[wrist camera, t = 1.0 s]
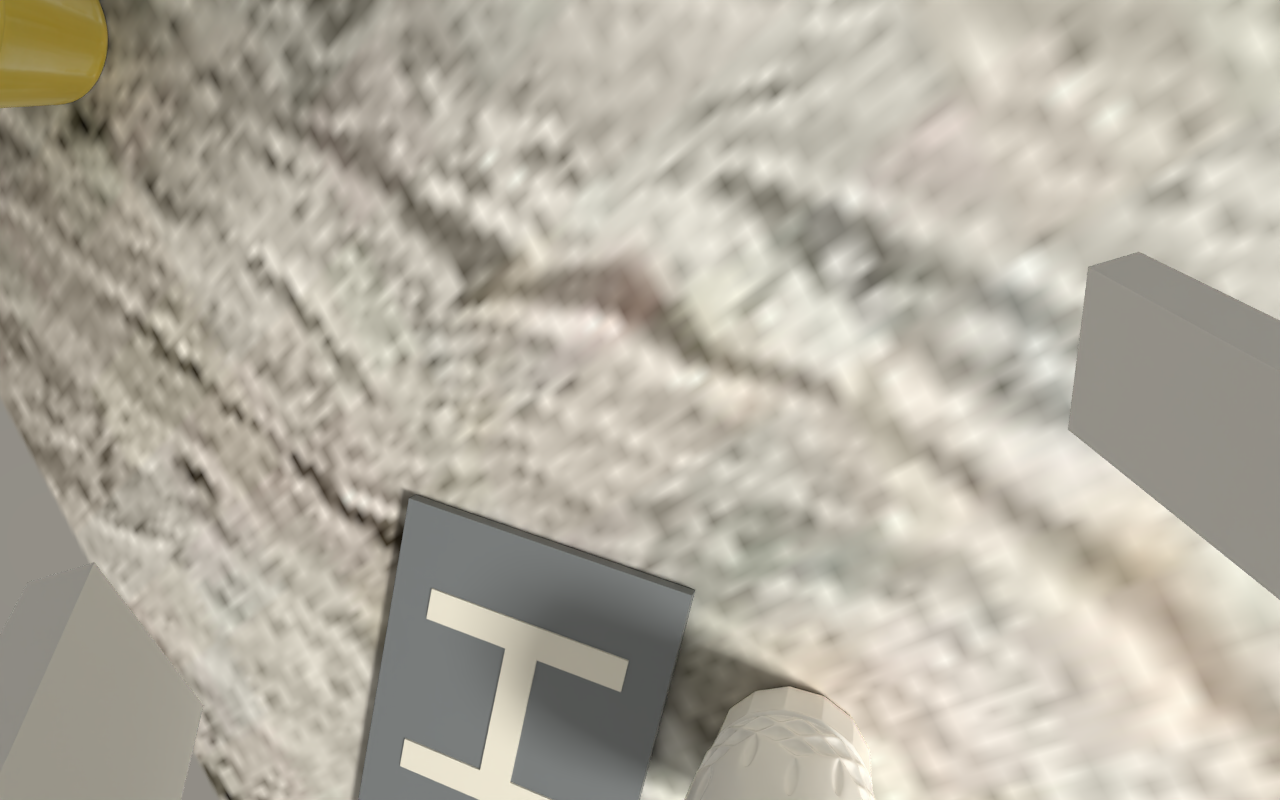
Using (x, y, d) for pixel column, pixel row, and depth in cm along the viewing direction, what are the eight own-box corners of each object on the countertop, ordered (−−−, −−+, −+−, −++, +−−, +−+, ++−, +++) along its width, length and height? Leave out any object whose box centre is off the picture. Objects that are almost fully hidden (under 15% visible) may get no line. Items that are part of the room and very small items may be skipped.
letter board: (415, 494, 40) (407, 498, 39) (695, 590, 37) (691, 596, 36) (362, 807, 44) (354, 816, 44) (608, 916, 41) (604, 927, 40)
